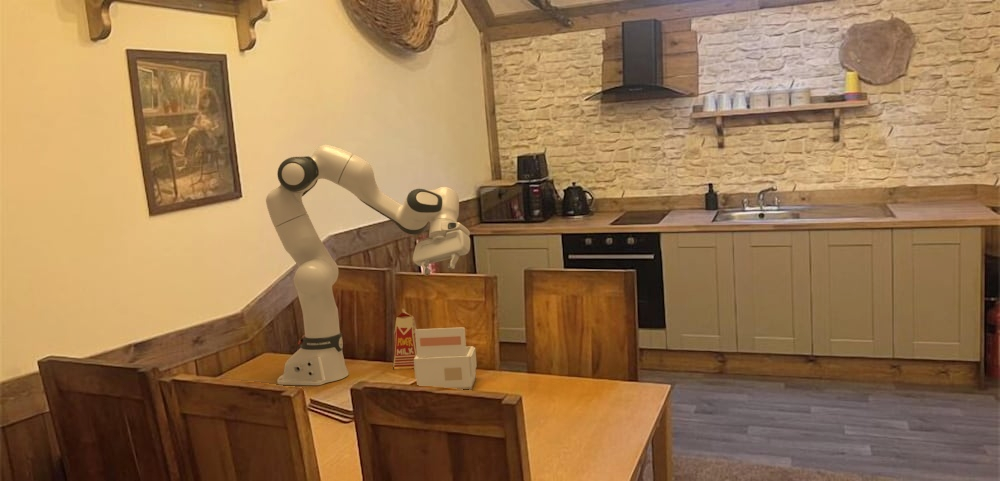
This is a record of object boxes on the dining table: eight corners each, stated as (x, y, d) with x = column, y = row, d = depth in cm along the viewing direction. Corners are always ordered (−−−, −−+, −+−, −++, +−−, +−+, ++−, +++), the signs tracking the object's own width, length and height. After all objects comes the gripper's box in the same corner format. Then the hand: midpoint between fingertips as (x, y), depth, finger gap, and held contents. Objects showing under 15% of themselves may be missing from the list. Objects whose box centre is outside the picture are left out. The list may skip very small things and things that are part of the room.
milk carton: (420, 368, 241) (415, 309, 238) (392, 370, 241) (387, 310, 239) (423, 361, 250) (419, 303, 248) (396, 362, 250) (392, 305, 248)
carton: (415, 392, 215) (413, 359, 214) (423, 379, 228) (421, 348, 227) (473, 390, 214) (470, 356, 212) (477, 377, 226) (475, 345, 225)
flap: (417, 356, 214) (416, 356, 213) (415, 329, 214) (414, 329, 213) (466, 354, 213) (466, 354, 212) (464, 327, 212) (464, 327, 212)
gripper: (411, 236, 237) (406, 273, 230) (463, 221, 227) (459, 260, 220) (423, 244, 242) (418, 282, 235) (474, 230, 232) (471, 269, 225)
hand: (438, 271), depth 227 cm, fingers open, 8 cm apart
